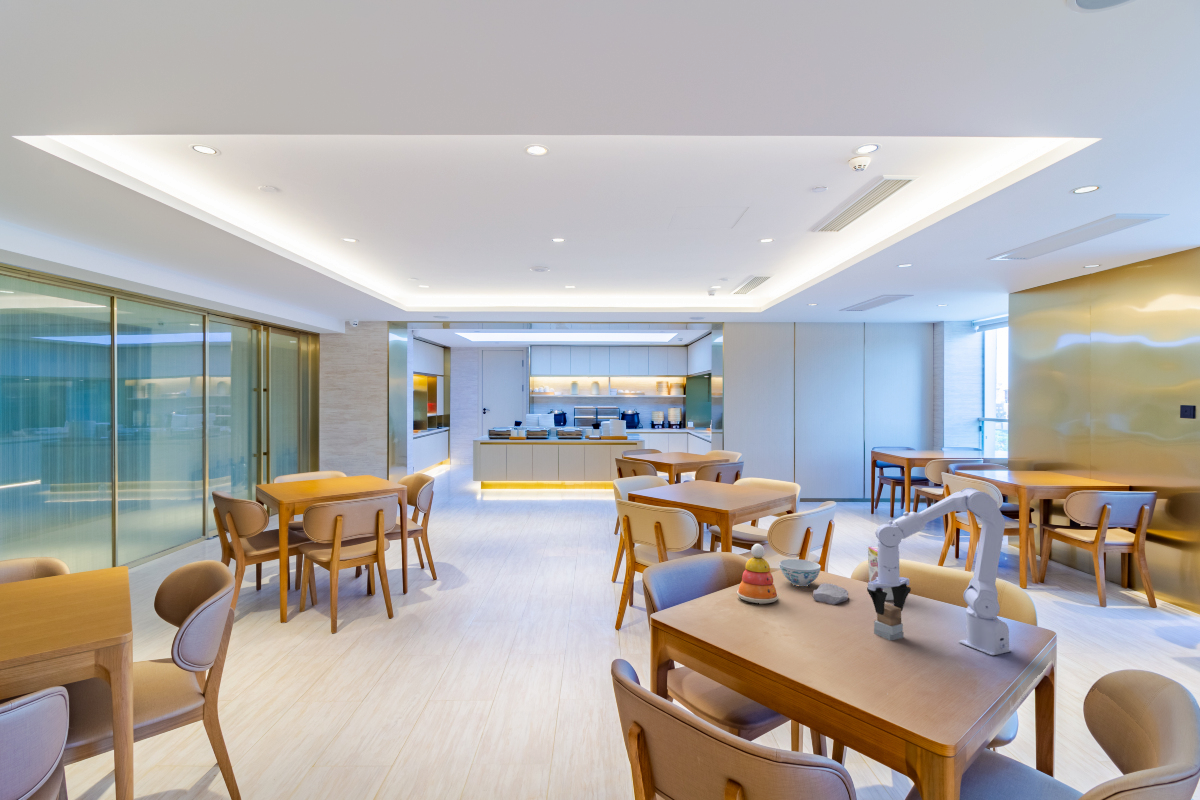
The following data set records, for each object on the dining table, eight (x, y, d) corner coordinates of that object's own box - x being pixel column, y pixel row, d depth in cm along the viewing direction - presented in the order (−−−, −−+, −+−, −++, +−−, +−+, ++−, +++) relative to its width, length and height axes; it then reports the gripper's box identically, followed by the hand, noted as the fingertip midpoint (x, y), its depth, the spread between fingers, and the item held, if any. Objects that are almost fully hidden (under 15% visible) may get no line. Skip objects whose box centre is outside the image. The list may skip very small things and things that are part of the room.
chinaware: (771, 580, 216) (771, 560, 217) (803, 577, 221) (803, 557, 221) (795, 592, 202) (795, 571, 202) (829, 588, 207) (829, 567, 207)
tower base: (903, 639, 161) (903, 631, 161) (890, 642, 159) (889, 634, 159) (887, 632, 166) (887, 625, 166) (874, 635, 164) (874, 627, 164)
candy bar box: (867, 590, 204) (867, 546, 204) (881, 591, 204) (880, 546, 204) (882, 601, 193) (881, 554, 193) (896, 601, 192) (895, 554, 193)
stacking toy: (764, 609, 185) (763, 551, 185) (728, 598, 195) (728, 543, 196) (786, 599, 194) (785, 544, 195) (751, 590, 205) (751, 537, 205)
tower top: (902, 630, 162) (902, 623, 162) (892, 635, 159) (892, 627, 159) (884, 624, 166) (884, 617, 166) (874, 628, 163) (874, 621, 163)
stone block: (849, 602, 197) (821, 591, 203) (851, 590, 196) (823, 579, 202) (839, 613, 187) (810, 601, 194) (842, 600, 187) (812, 588, 193)
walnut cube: (887, 618, 166) (887, 603, 166) (901, 623, 161) (901, 608, 162) (877, 620, 164) (877, 605, 164) (890, 626, 160) (890, 610, 160)
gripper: (894, 560, 169) (895, 604, 169) (859, 564, 164) (859, 610, 164) (915, 565, 163) (916, 612, 162) (878, 570, 157) (879, 618, 157)
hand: (889, 611), depth 162 cm, fingers open, 7 cm apart
